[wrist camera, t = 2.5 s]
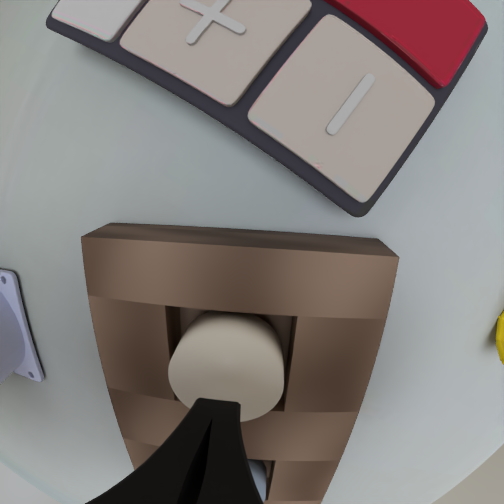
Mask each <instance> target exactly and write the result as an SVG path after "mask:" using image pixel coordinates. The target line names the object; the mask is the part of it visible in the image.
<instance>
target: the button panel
mask: <svg viewBox="0 0 504 504" xmlns="http://www.w3.org/2000/svg"><path fill="white" fill-rule="evenodd" d="M81 243H82V253H83V262H84V270H85V278H86V285H87V292H88V299H89V305H90V311H91V316H92V322H93V327H94V332H95V337H96V342H97V347H98V351H99V356H100V360H101V364H102V368H103V372H104V376H105V380H106V384H107V388H108V391H109V395H110V398H111V402H112V405H113V409H114V412H115V415H116V418H117V422H118V425H119V428H120V431H121V434H122V437H123V440H124V443H125V445H126V448H127V451H128V454H129V456H130V459H131V462H132V464H133V467H134V470H136V469H137V468H138V467H139V466H140V465H141V464H143V463H144V462H145V461H146V460H147V459H148V458H149V457H150V456H151V455H152V454H153V453H154V452H155V451H156V450H157V449H158V448H159V447H160V446H161V445H162V444H163V443H164V441H165V440H166V439H167V438H168V437H169V436H170V434H171V433H172V432H173V431H174V430H175V429H176V427H177V426H178V425H179V424H180V422H181V421H182V420H183V418H184V417H185V416H186V414H187V413H188V411H189V410H190V408H188V407H187V406H186V405H184V404H183V403H182V402H181V401H180V400H179V398H178V397H177V396H176V394H175V393H174V391H173V389H172V388H171V385H170V382H169V377H168V368H169V363H170V360H171V358H172V356H173V354H174V352H175V350H176V348H177V346H178V344H179V342H180V340H181V338H182V336H183V333H184V332H185V330H186V328H187V327H188V325H189V324H190V323H191V322H192V321H193V320H194V319H196V318H197V317H198V316H200V315H202V314H204V313H207V312H210V311H213V310H218V311H229V312H242V313H251V314H254V315H256V316H257V317H259V318H261V319H262V320H264V321H265V322H267V323H268V324H269V325H270V326H271V327H272V328H273V329H274V330H275V332H276V333H277V335H278V337H279V339H280V341H281V344H282V347H283V365H284V389H283V393H282V396H281V398H280V400H279V401H278V403H277V404H276V405H275V406H274V407H273V408H272V409H271V410H270V411H269V412H267V413H266V414H264V415H262V416H260V417H258V418H255V419H252V420H248V421H243V422H240V423H241V431H242V438H243V443H244V447H245V451H246V455H247V459H258V460H261V461H262V462H263V463H264V464H265V466H266V468H267V479H266V498H265V501H264V502H263V503H264V504H321V501H322V499H323V497H324V495H325V493H326V491H327V489H328V487H329V485H330V482H331V480H332V478H333V476H334V473H335V471H336V469H337V467H338V464H339V462H340V460H341V457H342V455H343V452H344V450H345V447H346V445H347V442H348V440H349V437H350V435H351V432H352V429H353V427H354V424H355V421H356V419H357V416H358V413H359V410H360V407H361V404H362V401H363V398H364V395H365V392H366V389H367V386H368V383H369V380H370V377H371V373H372V370H373V367H374V363H375V360H376V356H377V353H378V349H379V346H380V342H381V338H382V334H383V331H384V327H385V323H386V318H387V314H388V310H389V306H390V301H391V297H392V292H393V287H394V283H395V278H396V272H397V267H398V262H399V256H398V255H396V254H395V253H394V252H393V251H392V250H391V249H389V248H388V247H387V246H386V245H385V244H384V243H383V242H381V241H380V240H379V239H374V238H361V237H348V236H335V235H321V234H307V233H293V232H278V231H262V230H246V229H229V228H211V227H192V226H172V225H151V224H127V223H109V224H107V225H105V226H103V227H100V228H98V229H96V230H94V231H92V232H90V233H88V234H86V235H84V236H82V237H81Z"/></svg>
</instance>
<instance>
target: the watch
mask: <svg viewBox="0 0 504 504" xmlns="http://www.w3.org/2000/svg"><path fill="white" fill-rule="evenodd" d="M498 318H499V319H498V321H497V331H496V346H497V350H498V353H499V357H500V360H501V361H502V364H504V311H503V312H502V314H501V316H499V317H498Z"/></svg>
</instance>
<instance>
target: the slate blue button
mask: <svg viewBox="0 0 504 504" xmlns="http://www.w3.org/2000/svg"><path fill="white" fill-rule="evenodd" d="M248 463H249V466H250V469H251V472H252V475H253V478H254V481H255V484H256V487H257V489H258V492H259V494H260V496H261V499H262V501H263V502H264V501H265V498H266V479H267V468H266V466H265V464H264V463H263V462H262V461H261V460H258V459H248Z"/></svg>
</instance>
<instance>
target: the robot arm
mask: <svg viewBox="0 0 504 504" xmlns="http://www.w3.org/2000/svg"><path fill="white" fill-rule="evenodd" d="M12 372H14V373H16V374H19V375H22V376H24V377H27V378H29V379H32V380H35V381H37V382H42V380H43V379H44V375H43V372H42V369H41V366H40V363H39V360H38V357H37V354H36V351H35V348H34V345H33V341H32V338H31V334H30V331H29V327H28V324H27V320H26V316H25V312H24V308H23V303H22V299H21V295H20V290H19V285H18V280H17V277H16V275H15V274H14V273H13V272H12V271H8V270H2V269H0V384H1V383H2V382H3V381H4V380H5V379H6V378H7V377H8V376H9V375H10V374H11V373H12ZM240 415H241V404H239V403H238V402H234V401H224V400H216V399H207V398H198V399H196V401H195V402H194V404H193V406H192V407H191V409H190V410H189V411H188V413H187V414H186V416H185V417H184V418H183V420H182V421H181V422H180V424H179V425H178V426H177V427H176V429H175V430H174V431H173V432H172V433H171V434H170V436H169V437H168V438H167V439H166V440H165V441H164V443H163V444H162V445H161V446H160V447H159V448H158V449H157V450H156V451H155V452H154V453H153V454H152V455H151V456H150V457H149V458H148V459H147V460H146V461H145V462H144V463H143V464H141V465H140V466H139V467H138V468H137V469H136V470H135V471H133V472H132V473H131V474H130V475H128V476H127V477H126V478H125V479H123V480H122V481H121V482H119V483H118V484H116V485H115V486H113V487H112V488H111V489H109V490H108V491H106V492H105V493H103V494H101V495H100V496H98V497H96V498H95V499H93V500H91V501H89V502H87V503H85V504H264V503H263V501H262V499H261V496H260V494H259V492H258V489H257V487H256V484H255V481H254V478H253V475H252V472H251V469H250V466H249V463H248V459H247V455H246V451H245V447H244V443H243V438H242V431H241V423H240Z"/></svg>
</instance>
